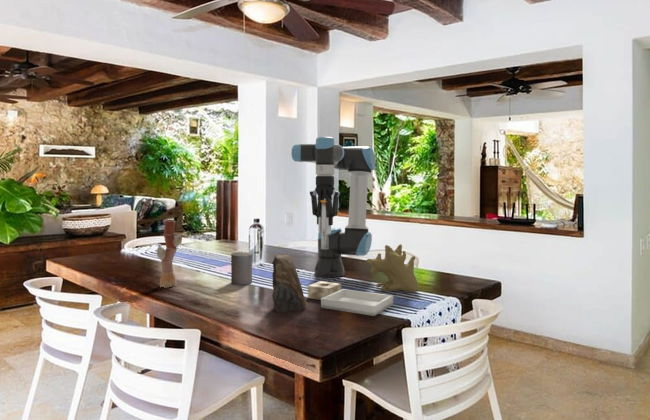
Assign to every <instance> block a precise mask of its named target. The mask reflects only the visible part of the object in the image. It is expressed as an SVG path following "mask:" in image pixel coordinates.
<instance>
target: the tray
mask: <svg viewBox="0 0 650 420" xmlns="http://www.w3.org/2000/svg"><path fill="white" fill-rule="evenodd" d="M393 305H394V295H392V294H386V293H384V294H383V293H377V292H371V291H362V290H356V289H346V288H341V290H339V291H337V292H335V293H332V294H330V295H328V296H325V297H323V298H321V300H320V308H322V309H327V310H328V309H329V310H334V311H341V312H346V313H352V314H353V313H354V314H358V315H365V316H372V317H376V316H377V315H378V314H380V313H381V312H383V311H385V310H387V309H388V308H390V307H392V306H393Z"/></svg>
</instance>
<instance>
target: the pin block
mask: <svg viewBox="0 0 650 420" xmlns="http://www.w3.org/2000/svg"><path fill="white" fill-rule="evenodd" d="M341 289H342V283H338V282H330V281H324V280H320V281H316V282H314V283H311V284H309V285H307V298H308V299H314V300H320V301H321V298H323V297H325V296H328V295H330V294H332V293H335V292H337V291H339V290H341Z"/></svg>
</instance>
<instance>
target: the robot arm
mask: <svg viewBox="0 0 650 420" xmlns="http://www.w3.org/2000/svg"><path fill="white" fill-rule="evenodd" d="M290 153H291V154H290V155H291V159H292V160H293V161H294V162H295V163H298V162H300V163H304V162H305V163H312V164H315V175H316V177H315V188H314V190H312V191H311V190H310V191H309V196H310V201H311V210H312V213H311V214H312V215H313V216H315V217H316V225H317V226H318V230H317V231H318V235H317V236H318V237H317V261H316V265H315V268H314V275H315V276H316V277H322V278H338V277H343V276H344V275H345V267H344V264H343V261H342V256H343V255H345V256H356V257H359V256H360V257H361V256H362V257H364V256H367V255H368V253H369V252H370V251H371V250H370V249H371V247H372V241H373V238H372V236H373V235H372V232H369V228H368V226H367V225H366V220H367V201H368V183H369V182H368V181H369V177H370V176H371V175H372V171H374V170H375V169H376V157H375V152H374V149H373V148H372V147H371V146H364V145H363V146H342V145H340V144H338V143H335V138H334V137H332V136H318V137H316V139H315V143H312V144H311V143H308V144H307V143H304V144H301V143H299V144H294V145H293V146H292V148H291V152H290ZM335 169H336V170H340V171H347V175H349V176H350V182H349V183H350V187H349V203H348V205H349V206H348V220H347V221H348V223H347V225H346V226H345V227H344V231H343V230H342V228H341V227H333V228H332V226H333V225H334V217H337V216H338V213H339V211H338V210H339V201H340V199H339V198H340V196H341V191H338V190H336V188H335V187H334V186H335V176H333V175H335ZM332 196H333V197H332ZM320 200H326V201H327V202H326V205H327V212H328V216H327V218H326V234H328V249H321V202H320Z"/></svg>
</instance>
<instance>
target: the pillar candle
mask: <svg viewBox="0 0 650 420" xmlns="http://www.w3.org/2000/svg"><path fill="white" fill-rule="evenodd" d="M230 256H231V257H230V261H231V262H230V263H231V264H230V266H231V267H230V268H231V269H230V270H231V271H230V273H231V274H230V276H231V278H230V280H231V282H230V283H231V284H232V285H235V286H245V285H251V284H252V283H253V252H248V251H242V250H241V251H237V252H236V251H235V252H232V253H231V254H230Z"/></svg>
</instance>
